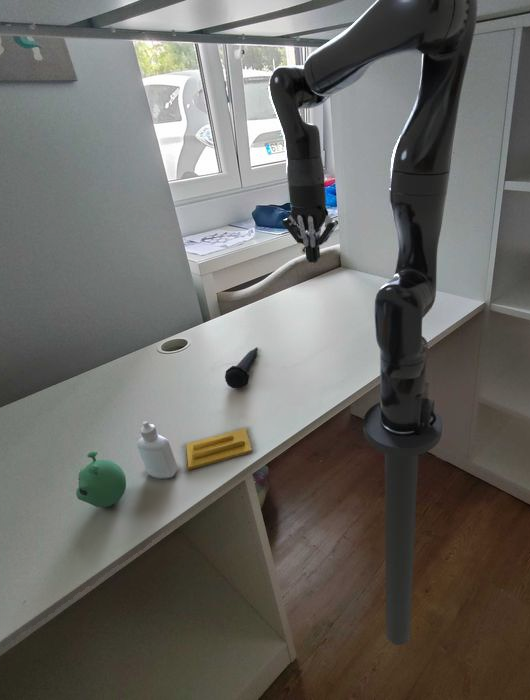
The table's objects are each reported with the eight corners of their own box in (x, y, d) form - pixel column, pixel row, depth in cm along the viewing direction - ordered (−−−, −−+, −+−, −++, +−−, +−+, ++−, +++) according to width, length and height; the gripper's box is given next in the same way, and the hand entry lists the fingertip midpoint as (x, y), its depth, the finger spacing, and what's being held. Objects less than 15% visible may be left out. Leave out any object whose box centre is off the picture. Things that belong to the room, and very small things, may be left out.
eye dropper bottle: (159, 486, 80) (140, 435, 74) (145, 471, 83) (126, 422, 77) (181, 472, 83) (164, 422, 77) (166, 458, 86) (149, 409, 80)
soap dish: (246, 430, 92) (244, 424, 91) (252, 451, 86) (250, 446, 86) (186, 446, 89) (185, 440, 88) (188, 469, 83) (187, 464, 82)
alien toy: (83, 497, 79) (62, 455, 74) (129, 479, 82) (112, 438, 77) (85, 525, 74) (63, 482, 68) (134, 505, 77) (116, 463, 71)
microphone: (252, 360, 122) (228, 396, 104) (243, 341, 120) (217, 375, 102) (270, 354, 121) (248, 390, 102) (261, 336, 119) (238, 368, 100)
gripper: (269, 183, 91) (279, 264, 99) (326, 184, 85) (333, 270, 94) (287, 177, 96) (296, 254, 105) (342, 177, 91) (347, 259, 100)
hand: (313, 261), depth 100 cm, fingers closed
